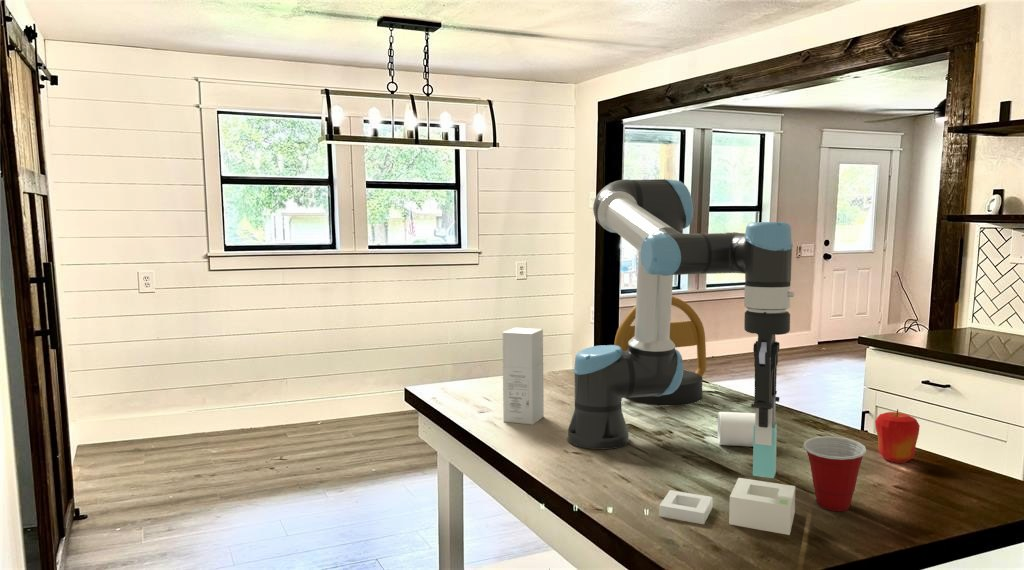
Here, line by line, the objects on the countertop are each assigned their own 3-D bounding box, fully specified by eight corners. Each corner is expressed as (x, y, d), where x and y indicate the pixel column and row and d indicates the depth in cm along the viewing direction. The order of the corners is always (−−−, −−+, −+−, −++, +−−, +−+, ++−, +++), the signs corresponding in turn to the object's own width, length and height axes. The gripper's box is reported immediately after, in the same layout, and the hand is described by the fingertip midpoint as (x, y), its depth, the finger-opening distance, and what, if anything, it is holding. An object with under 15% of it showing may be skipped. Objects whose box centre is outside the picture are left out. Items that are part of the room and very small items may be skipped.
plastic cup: (790, 503, 133) (791, 442, 132) (821, 490, 139) (823, 432, 138) (844, 522, 124) (846, 458, 123) (875, 508, 130) (877, 446, 129)
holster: (659, 521, 126) (659, 505, 125) (669, 505, 133) (670, 490, 133) (703, 529, 122) (704, 513, 122) (712, 512, 129) (712, 497, 129)
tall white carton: (544, 416, 195) (543, 328, 192) (533, 425, 186) (532, 333, 184) (515, 413, 198) (514, 327, 196) (503, 421, 190) (502, 332, 187)
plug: (752, 475, 122) (754, 398, 121) (755, 469, 126) (756, 393, 124) (773, 478, 121) (775, 400, 120) (775, 472, 124) (777, 395, 123)
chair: (593, 392, 221) (593, 294, 218) (682, 381, 235) (683, 289, 232) (637, 411, 199) (638, 302, 196) (732, 397, 213) (734, 296, 210)
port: (729, 529, 122) (729, 494, 122) (737, 508, 131) (738, 476, 130) (789, 540, 118) (790, 504, 117) (794, 517, 127) (795, 484, 126)
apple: (925, 462, 155) (928, 410, 154) (902, 468, 151) (904, 415, 150) (889, 451, 162) (891, 401, 161) (866, 456, 159) (868, 406, 158)
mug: (763, 451, 163) (764, 418, 163) (720, 449, 165) (720, 416, 165) (756, 436, 175) (757, 405, 174) (715, 434, 177) (716, 403, 176)
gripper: (785, 316, 112) (782, 457, 114) (794, 305, 126) (791, 430, 128) (737, 314, 115) (735, 451, 117) (751, 304, 130) (749, 426, 132)
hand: (764, 440), depth 123 cm, fingers closed on plug, 3 cm apart
